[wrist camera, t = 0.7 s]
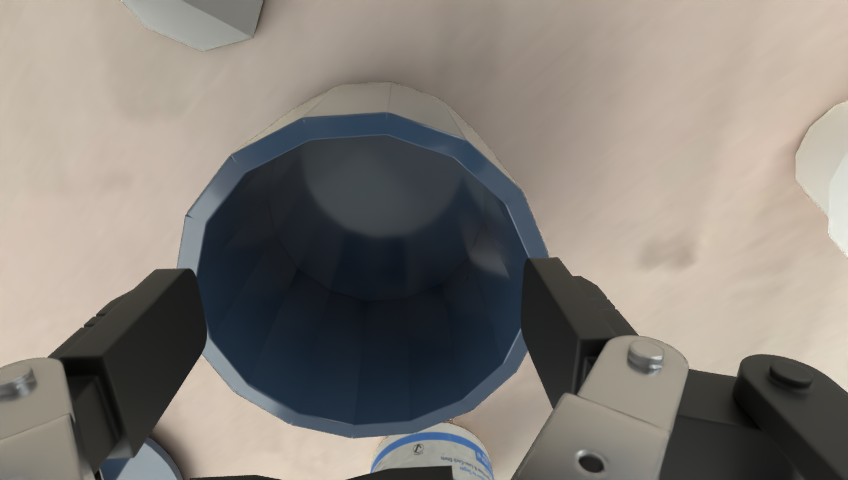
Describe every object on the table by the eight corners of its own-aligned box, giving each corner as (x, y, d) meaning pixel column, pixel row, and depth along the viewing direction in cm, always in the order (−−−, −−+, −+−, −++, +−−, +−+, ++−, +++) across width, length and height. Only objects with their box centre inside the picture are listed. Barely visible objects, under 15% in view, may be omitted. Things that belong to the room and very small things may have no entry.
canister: (235, 90, 27) (127, 128, 16) (495, 74, 27) (557, 100, 16) (281, 313, 32) (224, 449, 22) (494, 298, 33) (539, 424, 22)
